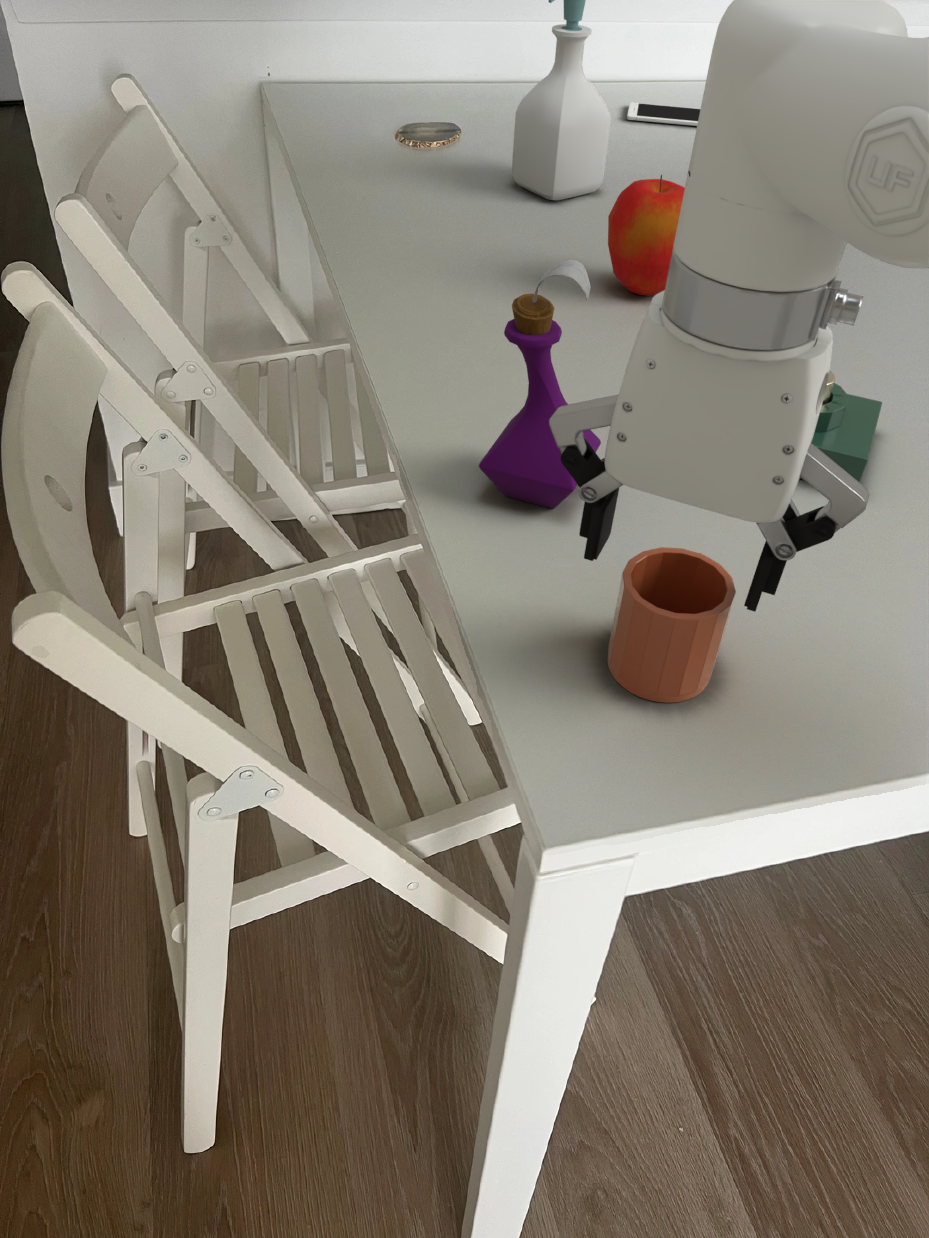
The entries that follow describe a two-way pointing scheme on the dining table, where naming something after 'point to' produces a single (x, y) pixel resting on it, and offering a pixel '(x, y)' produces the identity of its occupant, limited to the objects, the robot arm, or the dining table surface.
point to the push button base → (847, 430)
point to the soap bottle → (562, 122)
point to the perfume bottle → (536, 405)
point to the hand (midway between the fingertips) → (673, 571)
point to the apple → (644, 234)
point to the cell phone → (663, 114)
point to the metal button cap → (829, 387)
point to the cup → (669, 623)
